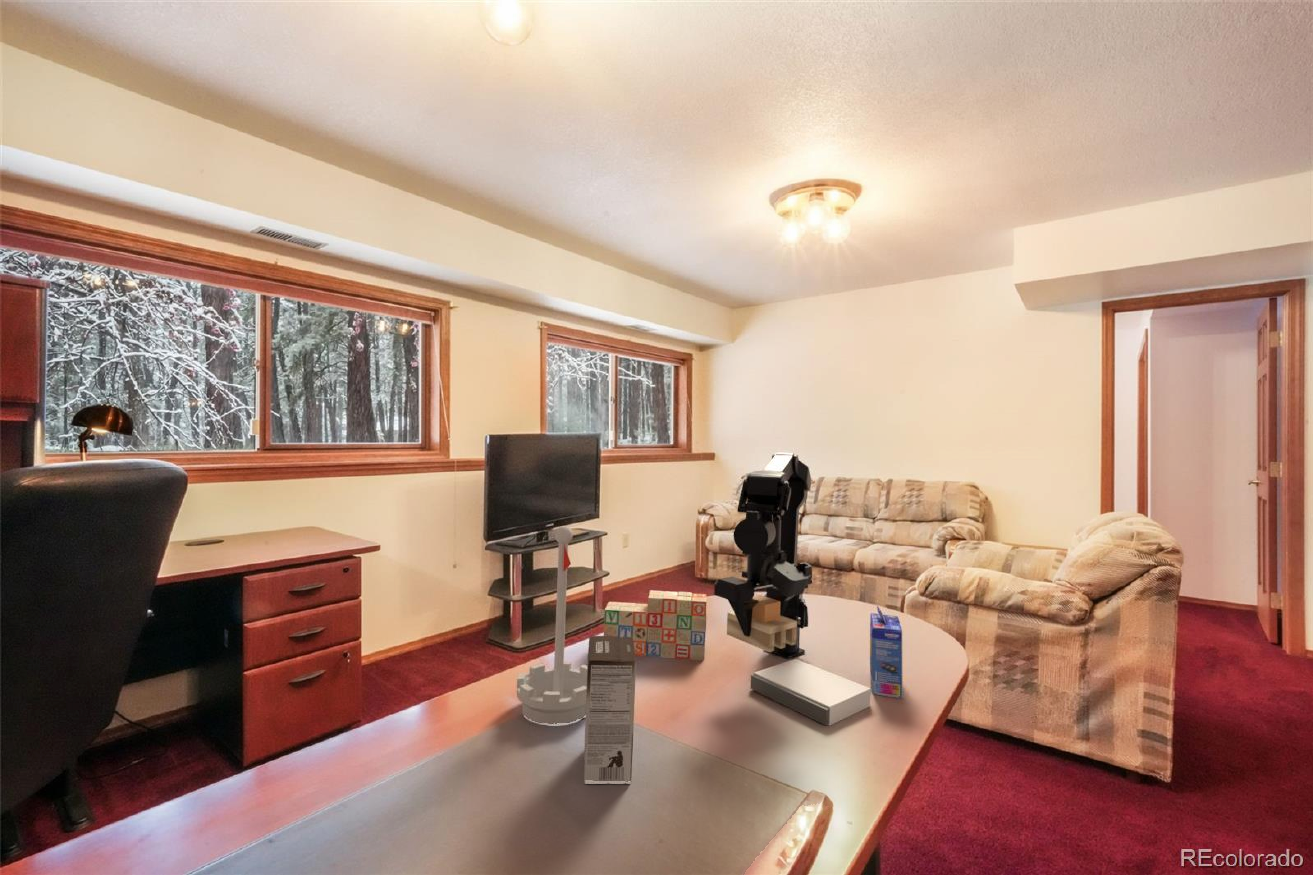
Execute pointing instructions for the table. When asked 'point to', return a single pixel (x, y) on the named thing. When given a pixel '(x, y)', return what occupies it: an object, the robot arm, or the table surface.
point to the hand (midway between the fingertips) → (761, 632)
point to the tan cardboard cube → (766, 609)
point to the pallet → (764, 632)
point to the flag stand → (555, 664)
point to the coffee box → (609, 708)
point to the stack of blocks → (661, 624)
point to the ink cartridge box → (886, 655)
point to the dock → (811, 691)
